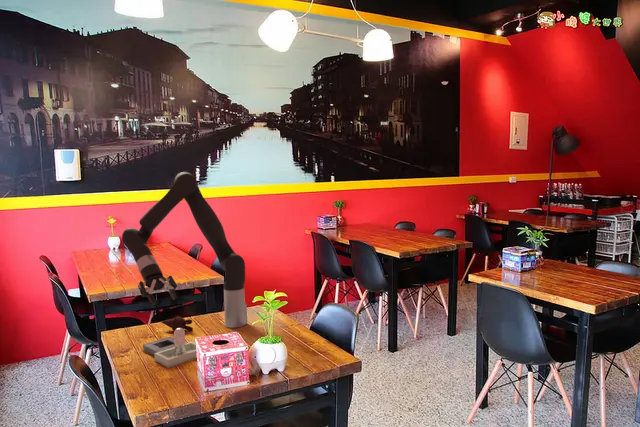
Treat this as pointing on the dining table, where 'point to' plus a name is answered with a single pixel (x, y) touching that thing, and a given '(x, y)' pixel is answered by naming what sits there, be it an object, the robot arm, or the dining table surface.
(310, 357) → the dining table surface
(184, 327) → the brown lobed piece
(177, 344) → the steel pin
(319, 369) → the dining table surface
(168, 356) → the tray
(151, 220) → the robot arm
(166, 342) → the plate
